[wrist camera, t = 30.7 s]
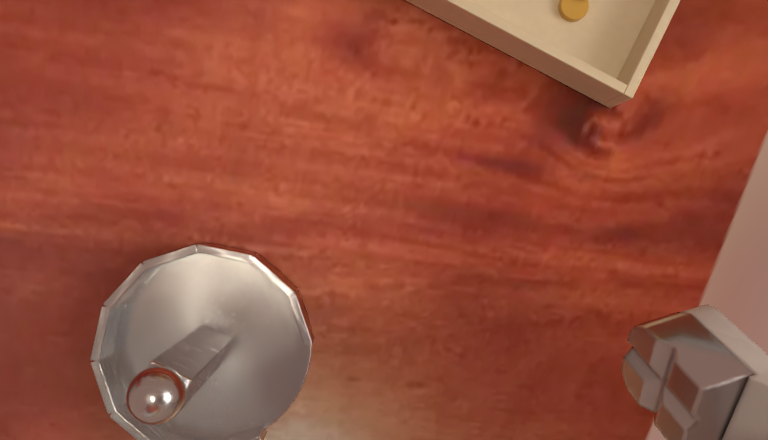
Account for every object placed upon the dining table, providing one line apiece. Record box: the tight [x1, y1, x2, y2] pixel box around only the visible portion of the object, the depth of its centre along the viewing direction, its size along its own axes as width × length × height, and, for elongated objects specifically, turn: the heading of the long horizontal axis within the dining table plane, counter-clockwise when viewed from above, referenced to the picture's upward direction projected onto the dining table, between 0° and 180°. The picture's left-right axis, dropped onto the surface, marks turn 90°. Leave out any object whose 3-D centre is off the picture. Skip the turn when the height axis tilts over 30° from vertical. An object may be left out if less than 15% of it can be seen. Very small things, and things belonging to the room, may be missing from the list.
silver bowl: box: [90, 243, 314, 440], centre depth 30 cm, size 12×12×12 cm
